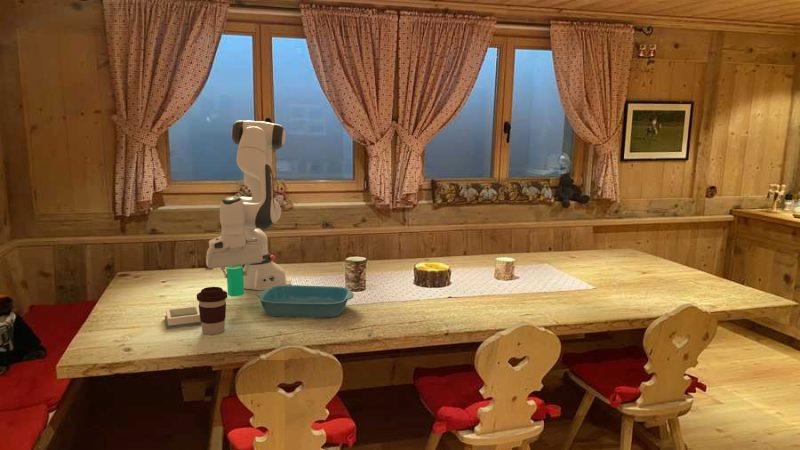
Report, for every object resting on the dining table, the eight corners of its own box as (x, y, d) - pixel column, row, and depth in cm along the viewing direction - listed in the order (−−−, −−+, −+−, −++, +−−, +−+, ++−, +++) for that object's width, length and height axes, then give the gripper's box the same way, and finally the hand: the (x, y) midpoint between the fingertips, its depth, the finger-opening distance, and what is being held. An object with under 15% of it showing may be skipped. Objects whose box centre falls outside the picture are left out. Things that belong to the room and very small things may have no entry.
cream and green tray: (208, 313, 212) (207, 304, 212) (212, 322, 202) (211, 313, 202) (165, 318, 206) (164, 309, 205) (167, 328, 196) (166, 318, 195)
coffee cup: (202, 326, 199) (200, 285, 196) (231, 326, 200) (229, 285, 197) (194, 336, 189) (192, 293, 187) (225, 336, 190) (223, 293, 188)
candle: (239, 297, 210) (237, 266, 208) (224, 295, 212) (222, 265, 209) (247, 292, 216) (245, 261, 214) (232, 290, 217) (231, 260, 215)
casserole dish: (250, 318, 209) (249, 300, 207) (267, 300, 231) (266, 283, 229) (349, 322, 207) (349, 303, 206) (357, 303, 229) (357, 286, 228)
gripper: (260, 236, 217) (261, 270, 220) (204, 241, 208) (206, 277, 211) (263, 239, 211) (265, 275, 214) (206, 245, 203) (209, 282, 206)
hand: (235, 276), depth 213 cm, fingers closed on candle, 5 cm apart
